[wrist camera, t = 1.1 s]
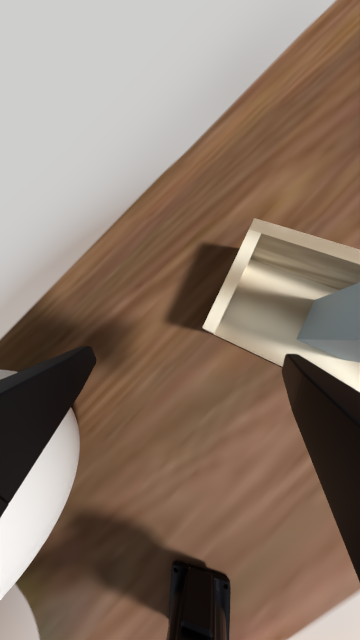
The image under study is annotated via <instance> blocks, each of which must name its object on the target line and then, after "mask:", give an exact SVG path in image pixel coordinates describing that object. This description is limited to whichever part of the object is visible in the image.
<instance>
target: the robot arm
mask: <svg viewBox="0 0 360 640" xmlns="http://www.w3.org/2000/svg"><path fill="white" fill-rule="evenodd" d="M95 364H96V357H95V354H94V352H93V349H92V347H91V346H80V347H78V348H75V349H73V350H71V351H68V352H66V353H63V354H61V355H59V356H56V357H54V358H51V359H49V360H47V361H44V362H42V363H39V364H37V365H34V366H32V367H30V368H27V369H25V370H22V371H20V372H18V373H15V374H13V375H10V376H8V377H6V378H3V379H1V380H0V518H1V516H2V514H3V513H4V511H5V510H6V508H7V507H8V505H9V503H10V502H11V500H12V498H13V497H14V495H15V494H16V492H17V491H18V489H19V488H20V486H21V484H22V483H23V481H24V480H25V478H26V477H27V475H28V473H29V472H30V470H31V469H32V467H33V466H34V464H35V463H36V461H37V459H38V458H39V456H40V455H41V453H42V452H43V450H44V448H45V447H46V445H47V444H48V442H49V441H50V439H51V438H52V436H53V434H54V433H55V431H56V430H57V428H58V427H59V425H60V423H61V422H62V420H63V419H64V417H65V416H66V414H67V413H68V411H69V409H70V408H71V406H72V405H73V403H74V402H75V400H76V398H77V397H78V395H79V394H80V392H81V390H82V389H83V387H84V385H85V383H86V381H87V379H88V377H89V375H90V373H91V371H92V370H93V368H94V366H95ZM282 375H283V379H284V383H285V386H286V390H287V394H288V398H289V401H290V405H291V408H292V412H293V414H294V417H295V420H296V422H297V425H298V427H299V430H300V432H301V435H302V437H303V440H304V442H305V445H306V447H307V450H308V452H309V455H310V457H311V460H312V463H313V465H314V468H315V470H316V473H317V475H318V478H319V480H320V483H321V485H322V488H323V490H324V493H325V495H326V498H327V500H328V503H329V506H330V508H331V511H332V513H333V516H334V518H335V521H336V523H337V526H338V528H339V531H340V533H341V536H342V538H343V541H344V543H345V546H346V549H347V551H348V554H349V556H350V559H351V561H352V564H353V566H354V569H355V571H356V574H357V576H358V579H359V581H360V392H359V391H357V390H355V389H354V388H352V387H351V386H349V385H347V384H346V383H344V382H342V381H341V380H339V379H338V378H336V377H334V376H333V375H331V374H329V373H328V372H326V371H325V370H323V369H321V368H320V367H318V366H316V365H315V364H313V363H312V362H310V361H308V360H307V359H305V358H304V357H302V356H300V355H299V354H286V355H285V358H284V363H283V367H282ZM229 623H230V580H229V579H228V578H227V577H226V576H222V575H219V574H216V573H213V572H210V571H207V570H204V569H200V568H197V567H194V566H191V565H188V564H185V563H182V562H178V561H174V562H173V564H172V571H171V589H170V608H169V627H168V633H167V640H229Z"/></svg>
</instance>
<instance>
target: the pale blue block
mask: <svg viewBox="0 0 360 640" xmlns="http://www.w3.org/2000/svg"><path fill="white" fill-rule="evenodd" d="M297 340H299V341H301V342H303V343H306V344H308V345H310V346H313V347H315V348H317V349H320V350H322V351H324V352H327V353H329V354H331V355H334V356H336V357H338V358H340V359H343V360H347V361H353V362H359V363H360V283H357V284H354V285H352V286H349V287H347V288H344V289H342V290H339V291H336V292H334V293H331V294H329V295H326V296H324V297H321V298H318V299H316V300H315V301H314V303H313V305H312V307H311V309H310V311H309V313H308V315H307V318H306V320H305V322H304V324H303V326H302V328H301V330H300V332H299V335H298V337H297Z"/></svg>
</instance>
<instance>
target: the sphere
mask: <svg viewBox="0 0 360 640" xmlns="http://www.w3.org/2000/svg"><path fill="white" fill-rule="evenodd" d="M15 373H18V372H15V371H9V370H0V380H1V379H3V378H6V377H8V376H10V375H13V374H15ZM79 451H80V437H79V428H78V424H77V420H76V417H75V414H74V412H73V410H72V408H70V409H69V411H68V413H67V414H66V416H65V417H64V419H63V420H62V422H61V423H60V425H59V427H58V428H57V430H56V431H55V433H54V434H53V436H52V438H51V439H50V441H49V442H48V444H47V445H46V447H45V448H44V450H43V452H42V453H41V455H40V456H39V458H38V459H37V461H36V463H35V464H34V466H33V467H32V469H31V470H30V472H29V473H28V475H27V477H26V478H25V480H24V481H23V483H22V484H21V486H20V488H19V489H18V491H17V492H16V494H15V495H14V497H13V498H12V500H11V502H10V503H9V505H8V507H7V508H6V510H5V511H4V513H3V514H2V516H1V518H0V600H1V599H2V598H3V597H4V596H5V594H6V593H7V592H8V591H9V590H10V589H11V588H12V586H13V585H14V584H15V583H16V582H17V580H18V579H19V578H20V576H21V575H22V574H23V573H24V571H25V570H26V569H27V567H28V566H29V565H30V563H31V562H32V560H33V559H34V558H35V556H36V555H37V553H38V552H39V550H40V549H41V547H42V546H43V544H44V543H45V541H46V540H47V538H48V536H49V534H50V533H51V531H52V529H53V527H54V526H55V524H56V522H57V520H58V518H59V516H60V514H61V512H62V510H63V508H64V506H65V503H66V501H67V499H68V496H69V494H70V491H71V488H72V485H73V482H74V478H75V475H76V471H77V466H78V460H79Z"/></svg>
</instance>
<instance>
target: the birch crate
mask: <svg viewBox="0 0 360 640" xmlns="http://www.w3.org/2000/svg"><path fill="white" fill-rule="evenodd" d="M357 283H360V250H359V249H356V248H352V247H349V246H346V245H342V244H339V243H336V242H332V241H329V240H326V239H322V238H319V237H316V236H312V235H309V234H306V233H302V232H299V231H296V230H292V229H289V228H286V227H282V226H279V225H276V224H272V223H269V222H266V221H262V220H259V219H255V218H254V220H253V222H252V225H251V227H250V229H249V231H248V233H247V235H246V237H245V239H244V241H243V243H242V246H241V248H240V250H239V252H238V254H237V256H236V258H235V260H234V262H233V264H232V266H231V269H230V271H229V273H228V275H227V277H226V279H225V281H224V283H223V285H222V287H221V290H220V292H219V294H218V296H217V298H216V300H215V302H214V304H213V306H212V308H211V311H210V313H209V315H208V317H207V319H206V321H205V323H204V325H203V327H202V328H203V329H204V330H206V331H208V332H210V333H212V334H214V335H216V336H218V337H220V338H223V339H225V340H227V341H229V342H231V343H233V344H235V345H237V346H240V347H242V348H244V349H246V350H248V351H250V352H252V353H254V354H256V355H259V356H261V357H263V358H265V359H267V360H269V361H271V362H273V363H275V364H278V365H280V366H282V367H283V363H284V358H285V355H286V354H299V355H300V356H302V357H304V358H305V359H307V360H308V361H310V362H312V363H313V364H315V365H316V366H318V367H320V368H321V369H323V370H325V371H326V372H328V373H329V374H331V375H333V376H334V377H336V378H338V379H339V380H341V381H342V382H344V383H346V384H347V385H349V386H351V387H352V388H354V389H355V390H357V391H359V392H360V363H359V362H353V361H347V360H343V359H340V358H338V357H336V356H334V355H331V354H329V353H327V352H324V351H322V350H320V349H317V348H315V347H313V346H310V345H308V344H306V343H303V342H301V341H299V340H297V337H298V335H299V332H300V330H301V328H302V326H303V324H304V322H305V320H306V318H307V315H308V313H309V311H310V309H311V307H312V305H313V303H314V301H315V300H316V299H318V298H321V297H324V296H326V295H329V294H331V293H334V292H336V291H339V290H342V289H344V288H347V287H349V286H352V285H354V284H357Z"/></svg>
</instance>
